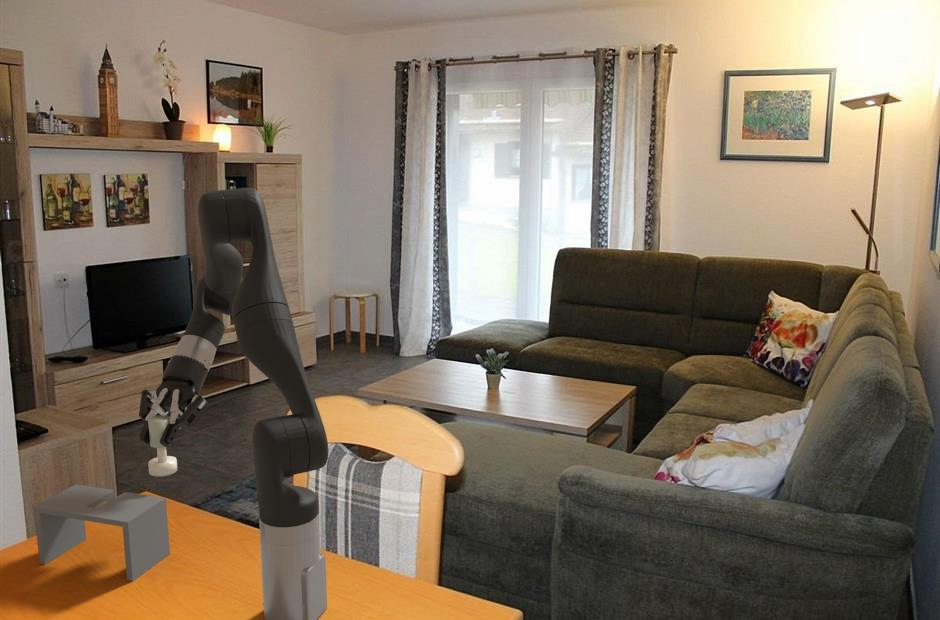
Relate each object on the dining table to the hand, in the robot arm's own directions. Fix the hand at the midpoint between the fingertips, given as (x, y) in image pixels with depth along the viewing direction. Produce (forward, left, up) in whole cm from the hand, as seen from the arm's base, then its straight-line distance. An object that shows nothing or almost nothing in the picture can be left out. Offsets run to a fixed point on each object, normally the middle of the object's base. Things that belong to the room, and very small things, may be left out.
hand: (154, 443), depth 147 cm
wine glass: (0, -2, -6) cm, 7 cm away
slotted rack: (+6, +9, -20) cm, 23 cm away
